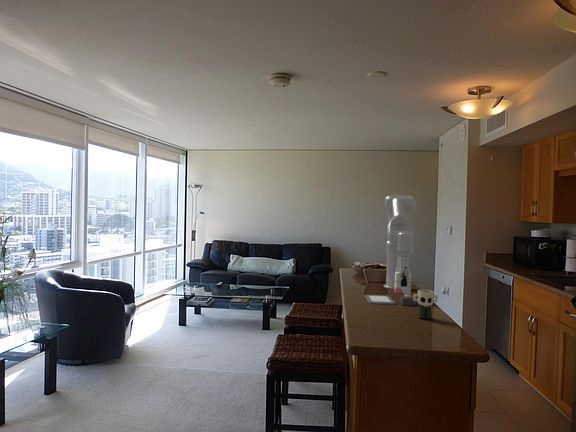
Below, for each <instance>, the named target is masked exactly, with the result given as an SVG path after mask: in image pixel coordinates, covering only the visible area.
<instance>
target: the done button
mask: <svg viewBox="0 0 576 432" xmlns="http://www.w3.org/2000/svg"><path fill="white" fill-rule="evenodd" d="M403 296H404V298H411V296H412V294H403Z"/></svg>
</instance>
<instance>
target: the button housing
mask: <svg viewBox="0 0 576 432" xmlns="http://www.w3.org/2000/svg"><path fill="white" fill-rule="evenodd" d="M413 298H414V295H411V298H404V295H400V296H399V303H400V304H401V305H402V306H413V307H414V306H415V307H416V305H417V301H414V300H413Z"/></svg>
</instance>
